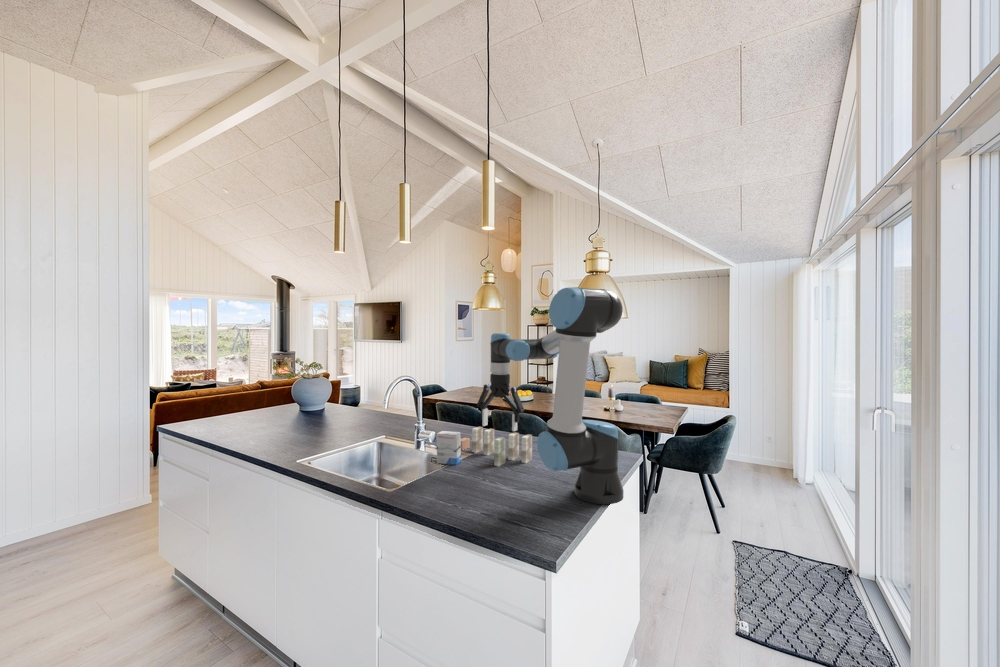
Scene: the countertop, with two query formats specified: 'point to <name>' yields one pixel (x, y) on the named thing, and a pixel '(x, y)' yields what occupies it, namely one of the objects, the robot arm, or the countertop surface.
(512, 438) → the domino
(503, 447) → the domino
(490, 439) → the domino
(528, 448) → the domino
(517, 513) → the countertop surface
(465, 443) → the end stop
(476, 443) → the domino
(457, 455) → the ink box
